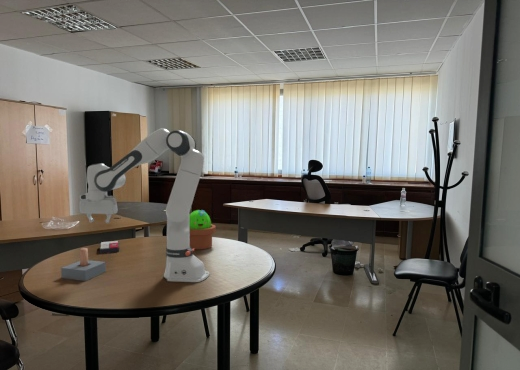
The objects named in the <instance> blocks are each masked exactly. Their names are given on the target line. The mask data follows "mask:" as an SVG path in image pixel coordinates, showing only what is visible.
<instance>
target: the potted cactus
mask: <svg viewBox="0 0 520 370" xmlns="http://www.w3.org/2000/svg"><path fill="white" fill-rule="evenodd" d="M210 217H211V216H210V215H208V213H207V212H206V211H205V210H203V209H201V210H200V209H196V210H193V211H192V212H191V213H190V212H189V233H190V247H191V249H194V250H206V249H210V248H212V246H213V235H214V234H215V233H216V225H215V224H212V220H211V218H210Z"/></svg>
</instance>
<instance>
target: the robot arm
mask: <svg viewBox="0 0 520 370" xmlns="http://www.w3.org/2000/svg"><path fill="white" fill-rule="evenodd" d="M196 149H197V141H196V140H195V138H194V137H193V136H191V135H190V134H189V133H188V132H185V131H183V130H178V129H175V130H172V131H169V130H168V129H166V128H164V127H161V128H158V129H156V130H155V131H153V132H151V133H150V134H149V135H147V136H146V137H144V138H143V139H142V140H141V141H140V142H139V143H138V144H137V145H136V146H135V147H133V149H131V151H129V153H128V154H125V156H123V157H122V158H121V159H120V160H117V162H115V163H114V164H113V165H112V166H110V167H109V166H107V165H105V163H102V162H101V163H93V164H90V165H89V166H88V167H87V172H86V182H87V185H88V188H87V192H85V193H83V194H80V195H79V196H78V197H79V200H80V201H79V205H78V207H79V213H80V214H85V215H86V217H87V219H88V223H95V222H94V221H95V219H94V218H93V217H92V215H105V216H106V219H104V223H105V224H110V222H111V221H110V219H111V217H112V215H115V214H117V213H118V211H119V210H118V203H117V198H116V197H115V196H114V195H108V192H110V191H112V190H116V189H119V188H122V187H123V186H125V184H126V181H127V178H126V173H128V172H129V171H131V169H134V168H135V167H137V166H140V165H145V164H149V163H151V162H153V161H154V160H156V159H157V158H159V157H160V156H162V155H163V154H164V153H165V152H166V151H168V150H170V151H171V152H173V153H174V154H176V156H179V157H180V164H179V167H178V171H177V174H176V177H175V181H174V183H173V186H172V188H171V192H170V195H169V197H168V201H167V204H166V207H165V214H166V248H165V257H166V263H165V270H164V273H163V277H164V278H165V279H166V281H167V282H181V283H183V282H184V283H200V282H203V281H204V280H206V279H207V278H208V277H209V276H210V271H208V270H206V268H205V264H204V262H203V260H200V258H198V257H197V256H196V255H194V254H193V253H194V251H195V249H191V247H190V233H189V215H190V212H191V209H192V205H193V201H194V199H195V198H194V197H195V194H196V191H197V188H198V185H199V182H200V178H201V175H202V172H203V167H204V162H205V161H204V159H205V157H204V154H203V153H202V152H201V151H199V150H196Z"/></svg>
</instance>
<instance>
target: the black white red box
mask: <svg viewBox="0 0 520 370" xmlns="http://www.w3.org/2000/svg"><path fill="white" fill-rule="evenodd" d="M111 253H112V254H113V253H120V241H118V240H114V241H112V240H111V241H103V242H102V241H101V242H100V243H99V254H100V255H102V254H111Z"/></svg>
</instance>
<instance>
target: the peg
mask: <svg viewBox="0 0 520 370" xmlns="http://www.w3.org/2000/svg"><path fill="white" fill-rule="evenodd" d="M88 260H89V251H88V247H87V248H86V247H82V248H80V249H79V261H80V266H81V267H85V266H88Z"/></svg>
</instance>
